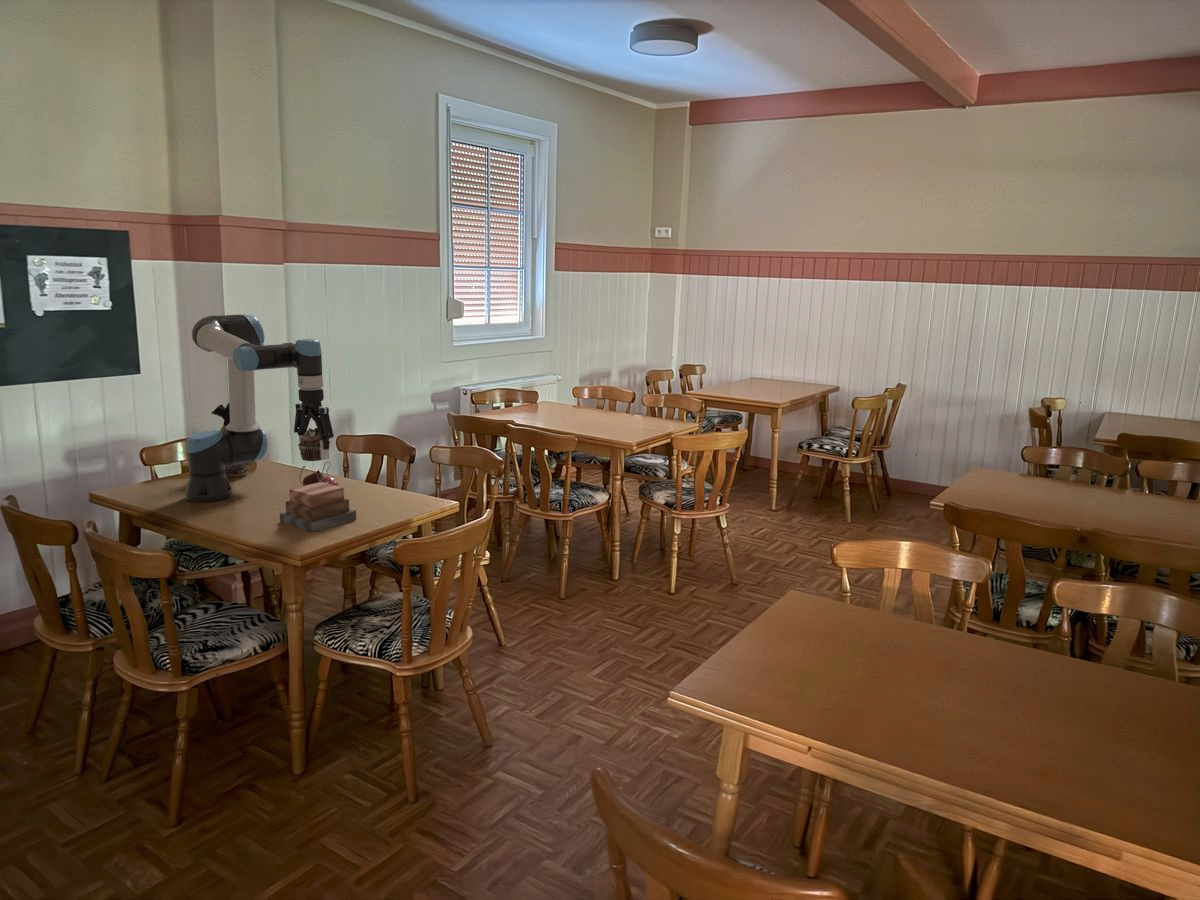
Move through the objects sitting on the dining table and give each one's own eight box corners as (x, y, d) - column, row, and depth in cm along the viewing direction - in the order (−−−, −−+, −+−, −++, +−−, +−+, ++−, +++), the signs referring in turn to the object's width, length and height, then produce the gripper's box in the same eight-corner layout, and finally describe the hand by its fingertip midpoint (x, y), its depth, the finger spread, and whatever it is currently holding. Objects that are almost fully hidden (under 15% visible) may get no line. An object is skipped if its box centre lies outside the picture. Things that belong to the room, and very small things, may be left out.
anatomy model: (326, 496, 286) (307, 456, 290) (310, 518, 295) (292, 479, 300) (354, 490, 294) (336, 451, 299) (339, 511, 304) (320, 473, 308)
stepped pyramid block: (280, 522, 269) (277, 489, 267) (323, 510, 283) (322, 479, 280) (312, 532, 260) (310, 498, 257) (356, 519, 273) (354, 487, 271)
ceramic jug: (208, 480, 319) (201, 404, 312) (217, 471, 333) (211, 397, 327) (254, 479, 322) (248, 403, 316) (262, 469, 337) (256, 397, 330)
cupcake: (317, 453, 273) (316, 424, 271) (336, 457, 268) (335, 427, 266) (292, 458, 265) (290, 428, 263) (311, 463, 260) (309, 432, 258)
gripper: (279, 386, 265) (283, 454, 270) (323, 393, 253) (327, 464, 257) (299, 384, 271) (303, 450, 276) (343, 390, 259) (346, 459, 263)
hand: (314, 456), depth 266 cm, fingers closed on cupcake, 10 cm apart
